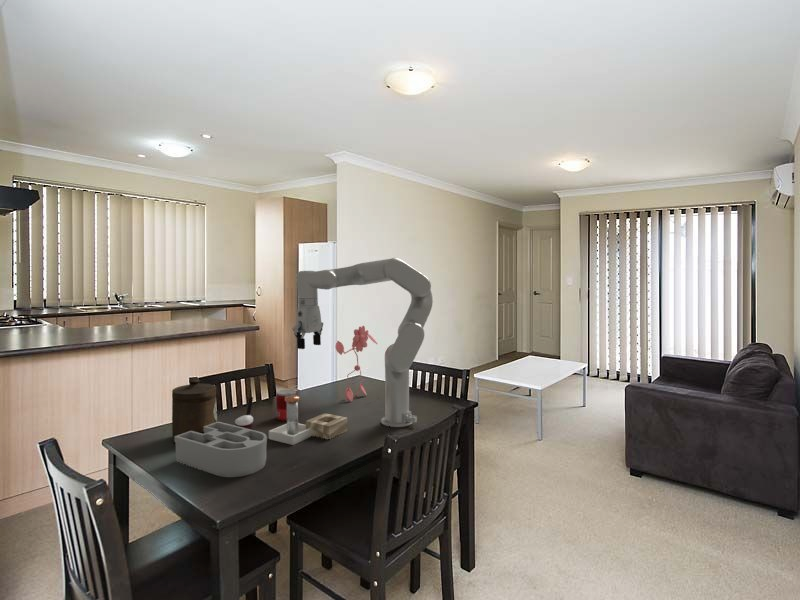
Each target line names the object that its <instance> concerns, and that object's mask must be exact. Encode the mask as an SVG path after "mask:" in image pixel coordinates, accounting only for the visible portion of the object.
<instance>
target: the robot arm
mask: <svg viewBox="0 0 800 600" xmlns="http://www.w3.org/2000/svg"><path fill="white" fill-rule="evenodd" d="M390 281H392V282H394V283H395V284H396V285H398V286H400V288H402V289H404V290H405V291H407V292H408V293H409V294H410V297H411V300H410V304H409V307H408V309H407V312H406V313H405V315H404V317H403V319H402V321H401V323H400V325H399V326H398V329H397V337H396V339H395V341H394V343H392V344H390V345H389V346H388V347H386V349H385V353H384V375H385V376H384V378H385V379H384V382H385V383H384V385H385V386H384V400H385V401H384V403H385V404H384V408H385V409H384V415H385V416H383V417H382V418H381V421H380V423H381V424H382V425H383V426H386V427H389V426H390V427H389V428H404V427H409V426H411V425H413V423H417V422H418V416H417V415H412V411H411V410H410V367H411V366H412V364H413V363H414V360H415V359H416V356H417V355H418V353H419V351H420V348H421V346H422V345H423V342H424V340H425V339H424V338H425V330H424V327H425V324H426V323H427V320H428V318H429V315H430V313H431V311H432V308H433V303H434V301H433V293H432V282H431V281H430V279H429V278H428V277H427V275H424V274H423V273H421V272H420V271H418V270H417V269H415V268H414V267H412V266H411V265H410V264H408V263H407V262H405V261H404V260H402V259H401V258H398V257H392V258H386V259H379V260H374V261H367V262H361V263H357V264H354V265H351V266H350V265H349V266H345V267H339V268H333V269H332V268H331V269H323V270H300V271H298V272H297V274H296V282H297V284H296V285H297V310H296V324H295V325H294V326H293V327H292V332H293V335H294V336H295V338H296V344H297V347H296V348H297V350H304V349H305V348H306V341H305V340H306V339H305V338H304V337H305V335H306V334H311V333H312V334H313V335H312V337H313V338H312V340H313V343H312V345H314V346H321V342H322V341H321V340H322V339H321V338H322V337H321V336H322V331H323V327H324V322H322V315H321V310H320V306H319V297H318V294H319V293H318V292H319V291H318V289H319V290H332V289H333V288H335V289H336V288H340V287H347V286H364V285H371V284H377V283H383V282H384V283H386V282H390Z"/></svg>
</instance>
